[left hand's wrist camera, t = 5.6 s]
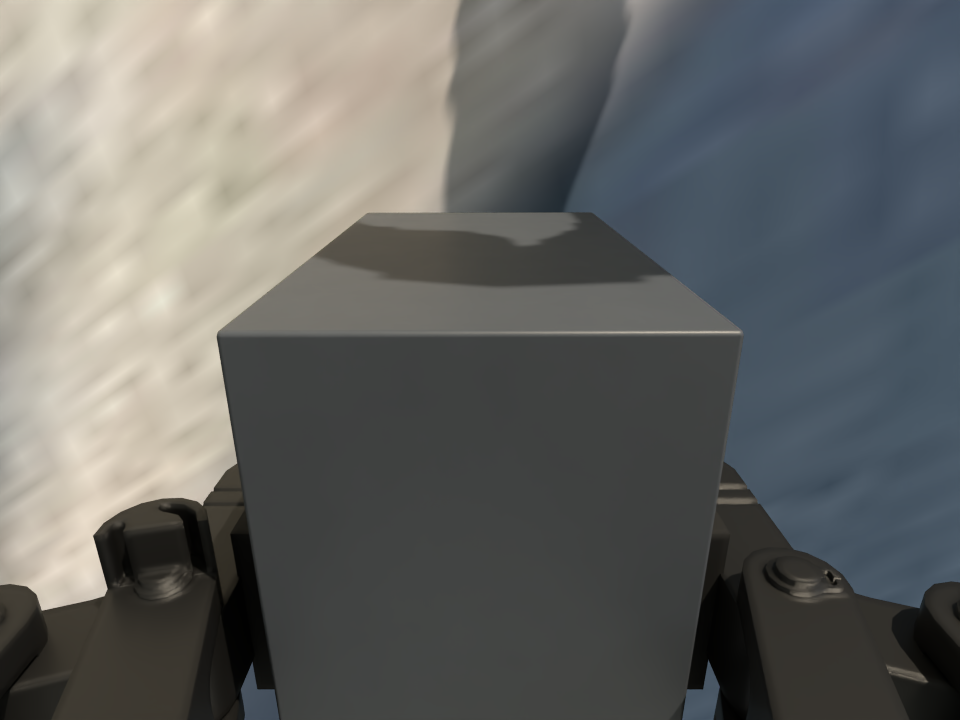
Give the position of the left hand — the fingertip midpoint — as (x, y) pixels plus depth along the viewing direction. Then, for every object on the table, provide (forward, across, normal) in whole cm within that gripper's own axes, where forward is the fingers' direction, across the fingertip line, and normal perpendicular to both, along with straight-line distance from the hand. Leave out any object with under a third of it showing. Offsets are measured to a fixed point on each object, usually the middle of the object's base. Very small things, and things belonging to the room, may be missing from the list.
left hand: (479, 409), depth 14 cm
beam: (+1, 0, -30) cm, 30 cm away
